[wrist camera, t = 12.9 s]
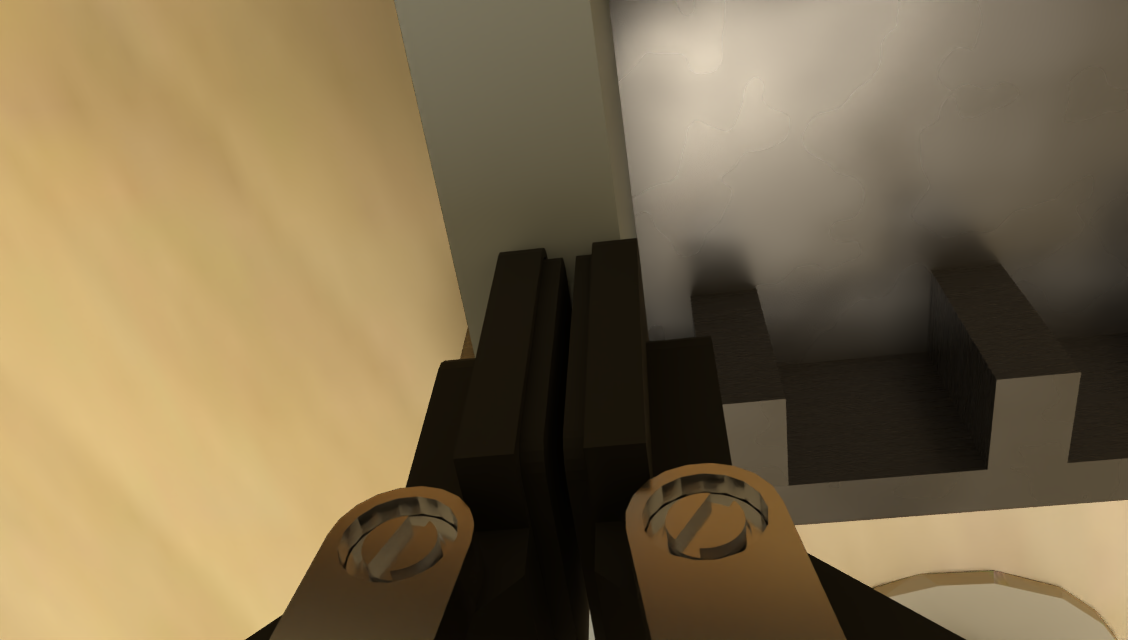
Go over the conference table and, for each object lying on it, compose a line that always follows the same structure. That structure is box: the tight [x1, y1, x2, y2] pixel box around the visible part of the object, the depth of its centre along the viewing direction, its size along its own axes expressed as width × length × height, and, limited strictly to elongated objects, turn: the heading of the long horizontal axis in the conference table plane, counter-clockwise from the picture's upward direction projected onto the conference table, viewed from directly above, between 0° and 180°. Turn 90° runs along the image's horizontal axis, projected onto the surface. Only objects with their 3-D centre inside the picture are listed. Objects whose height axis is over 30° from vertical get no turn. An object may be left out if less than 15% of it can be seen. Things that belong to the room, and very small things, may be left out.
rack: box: [460, 0, 1128, 525], centre depth 17 cm, size 16×14×5 cm
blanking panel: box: [394, 0, 637, 640], centre depth 16 cm, size 2×11×8 cm, turn 8°
